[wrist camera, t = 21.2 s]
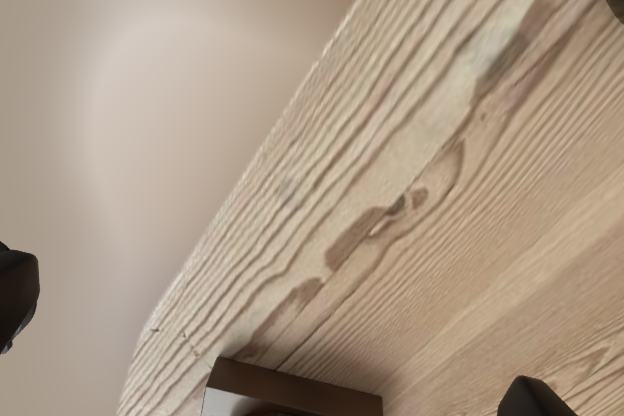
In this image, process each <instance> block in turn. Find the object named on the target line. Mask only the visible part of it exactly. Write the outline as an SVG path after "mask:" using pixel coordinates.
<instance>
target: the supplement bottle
mask: <svg viewBox="0 0 624 416" xmlns="http://www.w3.org/2000/svg"><path fill="white" fill-rule="evenodd" d="M606 1H607V3H608V5H609V7H610V9H611V10H612V12H613V13H614V14H615V16H616V17H617V18H618V19H619V20H620V21H621V23H622V24H624V0H606Z"/></svg>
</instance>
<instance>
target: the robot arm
mask: <svg viewBox="0 0 624 416" xmlns="http://www.w3.org/2000/svg"><path fill="white" fill-rule="evenodd" d="M39 292H40V285H39V269H38V260H37V258H36V256H34V255H33V254H30V253H26V252H22V251H18V250H8V251H5V252H1V253H0V354H4V353H6V352H7V351H8V350H9V349H10V348H11V347H12V337H13V336H14V334H15V333H16V331H17V330H18V328H19V327H20V325H21V324H22V323H23V321H24V320H25V318H26V317H27V315H28V314H29V312H30V311H31V309H32V308H33V307H34V305H35V303H36V302H37V300H38V297H39ZM497 416H578V415H577V414H576V413H575V412H574V411H573V410H572V409H571V408H570V407H569V406H568V405H567V404H566V403H565V402H564V401H563V400H562V399H561V398H560V397H559V396H558V395H557V394H556V393H555V392H554V391H553V390H552V389H551V388H550V387H549V386H548V385H547V384H546V383H544V382H543V381H542V380H539V379H536V378H532V377H528V376H524V375H521V376H518V377H516V378H515V379H514V381H513V382H512V384H511V386H510V387H509V389H508V390H507V392H506V394H505V395H504V397H503V399H502V400H501V402H500V404H499V407H498V411H497Z"/></svg>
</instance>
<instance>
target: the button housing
mask: <svg viewBox="0 0 624 416" xmlns="http://www.w3.org/2000/svg"><path fill="white" fill-rule="evenodd" d="M201 416H383V405H382V397H379V396H375V395H371V394H366V393H362V392H358V391H354V390H350V389H346V388H342V387H338V386H334V385H330V384H326V383H322V382H318V381H313V380H309V379H305V378H301V377H297V376H293V375H289V374H285V373H281V372H277V371H273V370H269V369H264V368H260V367H256V366H252V365H248V364H244V363H240V362H236V361H232V360H228V359H224V358H220V357H217V359H216V361H215V364H214V366H213V369H212V371H211V374H210V376H209V379H208V382H207V384H206V388H205V394H204V400H203V406H202V412H201Z"/></svg>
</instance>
